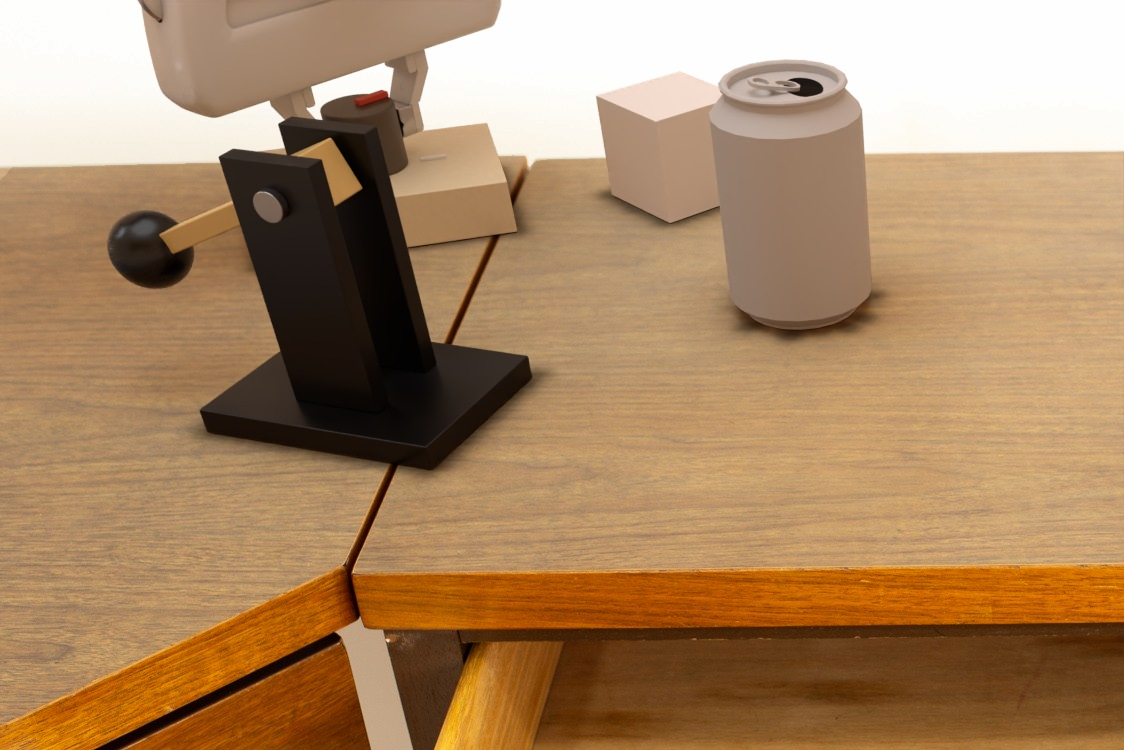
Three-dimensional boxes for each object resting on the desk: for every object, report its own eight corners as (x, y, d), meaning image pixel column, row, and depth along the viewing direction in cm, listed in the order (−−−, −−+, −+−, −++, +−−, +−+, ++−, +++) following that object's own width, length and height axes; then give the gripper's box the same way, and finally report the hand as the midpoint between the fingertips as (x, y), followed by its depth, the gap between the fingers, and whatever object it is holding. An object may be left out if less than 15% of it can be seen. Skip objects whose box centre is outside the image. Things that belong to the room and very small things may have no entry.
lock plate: (260, 268, 87) (242, 214, 85) (258, 201, 95) (242, 150, 93) (517, 231, 91) (506, 178, 89) (497, 170, 99) (486, 119, 97)
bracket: (206, 432, 74) (108, 164, 66) (322, 345, 80) (246, 92, 72) (432, 470, 71) (359, 196, 63) (532, 377, 78) (478, 118, 70)
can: (891, 322, 82) (880, 90, 75) (751, 347, 80) (725, 111, 73) (848, 265, 88) (834, 43, 80) (716, 287, 85) (688, 61, 78)
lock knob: (364, 184, 89) (347, 117, 87) (321, 169, 91) (303, 102, 88) (423, 163, 91) (407, 97, 89) (380, 148, 93) (363, 83, 91)
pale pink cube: (611, 195, 95) (595, 95, 92) (692, 168, 99) (679, 70, 95) (670, 223, 92) (655, 121, 88) (751, 194, 95) (740, 94, 92)
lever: (125, 310, 74) (74, 240, 72) (177, 278, 77) (128, 209, 75) (332, 226, 68) (281, 147, 66) (380, 194, 70) (333, 118, 69)
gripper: (152, -62, 74) (242, 220, 82) (492, -144, 87) (538, 107, 95) (77, -82, 77) (172, 194, 85) (417, -158, 90) (469, 87, 98)
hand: (368, 147), depth 90 cm, fingers closed on lock knob, 4 cm apart
